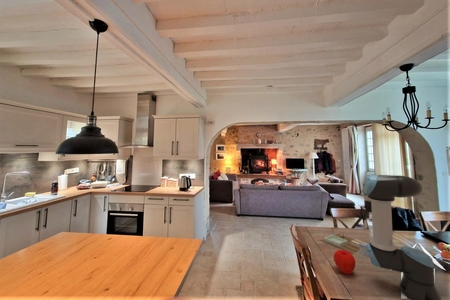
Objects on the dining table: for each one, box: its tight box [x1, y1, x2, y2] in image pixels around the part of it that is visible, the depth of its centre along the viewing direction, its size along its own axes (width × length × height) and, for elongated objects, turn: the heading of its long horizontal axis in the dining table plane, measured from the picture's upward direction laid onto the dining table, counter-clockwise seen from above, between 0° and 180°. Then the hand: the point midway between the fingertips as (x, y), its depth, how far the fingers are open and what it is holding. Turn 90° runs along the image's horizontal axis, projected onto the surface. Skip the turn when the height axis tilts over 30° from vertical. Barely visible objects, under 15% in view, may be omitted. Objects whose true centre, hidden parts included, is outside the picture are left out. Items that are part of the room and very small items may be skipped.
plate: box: [351, 238, 367, 247], centre depth 146 cm, size 8×8×2 cm
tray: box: [323, 234, 348, 249], centre depth 151 cm, size 12×13×3 cm
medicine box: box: [359, 242, 369, 257], centre depth 132 cm, size 8×4×9 cm, turn 92°
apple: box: [333, 249, 356, 275], centre depth 114 cm, size 12×12×13 cm
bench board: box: [320, 231, 360, 255], centre depth 151 cm, size 28×26×6 cm
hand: (371, 229), depth 138 cm, fingers open, 7 cm apart
